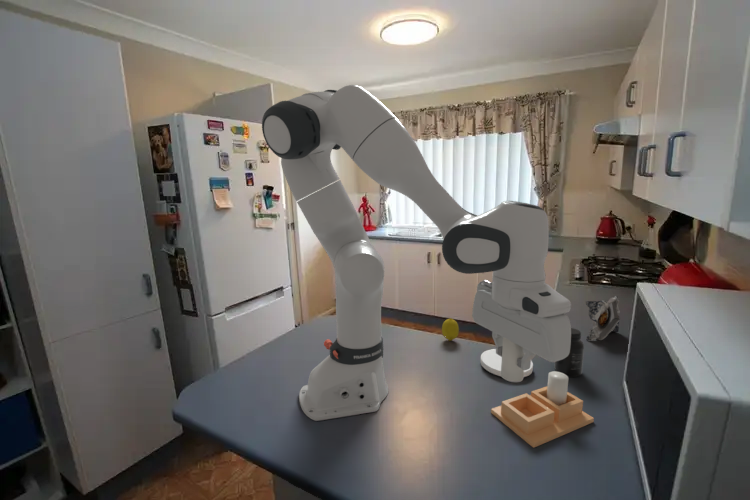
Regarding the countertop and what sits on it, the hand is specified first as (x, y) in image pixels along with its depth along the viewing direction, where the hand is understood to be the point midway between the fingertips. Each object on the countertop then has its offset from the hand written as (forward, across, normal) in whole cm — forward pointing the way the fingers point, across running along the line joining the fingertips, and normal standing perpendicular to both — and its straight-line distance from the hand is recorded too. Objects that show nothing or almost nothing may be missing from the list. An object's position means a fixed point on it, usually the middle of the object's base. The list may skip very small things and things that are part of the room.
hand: (512, 361), depth 66 cm
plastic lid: (+19, -24, +23) cm, 38 cm away
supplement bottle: (+19, -15, +37) cm, 44 cm away
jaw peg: (+3, 0, 0) cm, 3 cm away
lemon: (+19, -45, +19) cm, 52 cm away
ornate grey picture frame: (+18, -26, +68) cm, 75 cm away
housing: (+19, -4, +14) cm, 24 cm away
